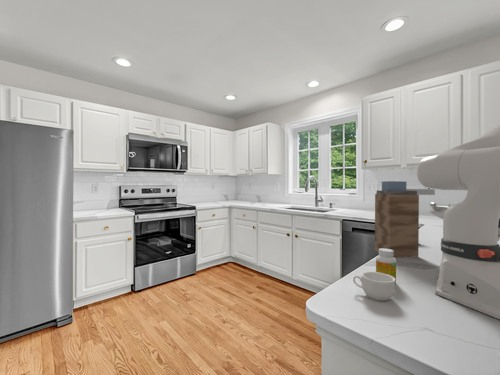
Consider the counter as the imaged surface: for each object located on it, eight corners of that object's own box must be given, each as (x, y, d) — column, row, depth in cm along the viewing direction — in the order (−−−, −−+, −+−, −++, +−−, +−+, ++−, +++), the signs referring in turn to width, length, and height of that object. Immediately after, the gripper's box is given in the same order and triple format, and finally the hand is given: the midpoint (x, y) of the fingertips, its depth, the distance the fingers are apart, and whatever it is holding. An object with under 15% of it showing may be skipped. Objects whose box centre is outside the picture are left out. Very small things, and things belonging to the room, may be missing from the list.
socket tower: (419, 256, 104) (420, 191, 104) (389, 257, 102) (390, 190, 102) (402, 250, 114) (402, 190, 114) (374, 251, 112) (375, 190, 112)
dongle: (435, 194, 107) (436, 182, 108) (389, 194, 105) (389, 181, 105) (426, 194, 112) (426, 182, 112) (381, 194, 110) (381, 181, 110)
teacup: (397, 296, 65) (397, 275, 65) (392, 307, 59) (393, 284, 59) (356, 286, 71) (356, 268, 71) (349, 296, 65) (349, 275, 65)
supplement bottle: (393, 286, 71) (393, 253, 71) (373, 281, 75) (373, 249, 75) (398, 281, 75) (398, 249, 75) (379, 277, 79) (379, 246, 79)
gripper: (446, 212, 122) (424, 197, 121) (491, 216, 102) (465, 199, 101) (440, 223, 122) (418, 208, 120) (484, 230, 101) (458, 212, 100)
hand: (440, 204), depth 110 cm, fingers open, 8 cm apart
